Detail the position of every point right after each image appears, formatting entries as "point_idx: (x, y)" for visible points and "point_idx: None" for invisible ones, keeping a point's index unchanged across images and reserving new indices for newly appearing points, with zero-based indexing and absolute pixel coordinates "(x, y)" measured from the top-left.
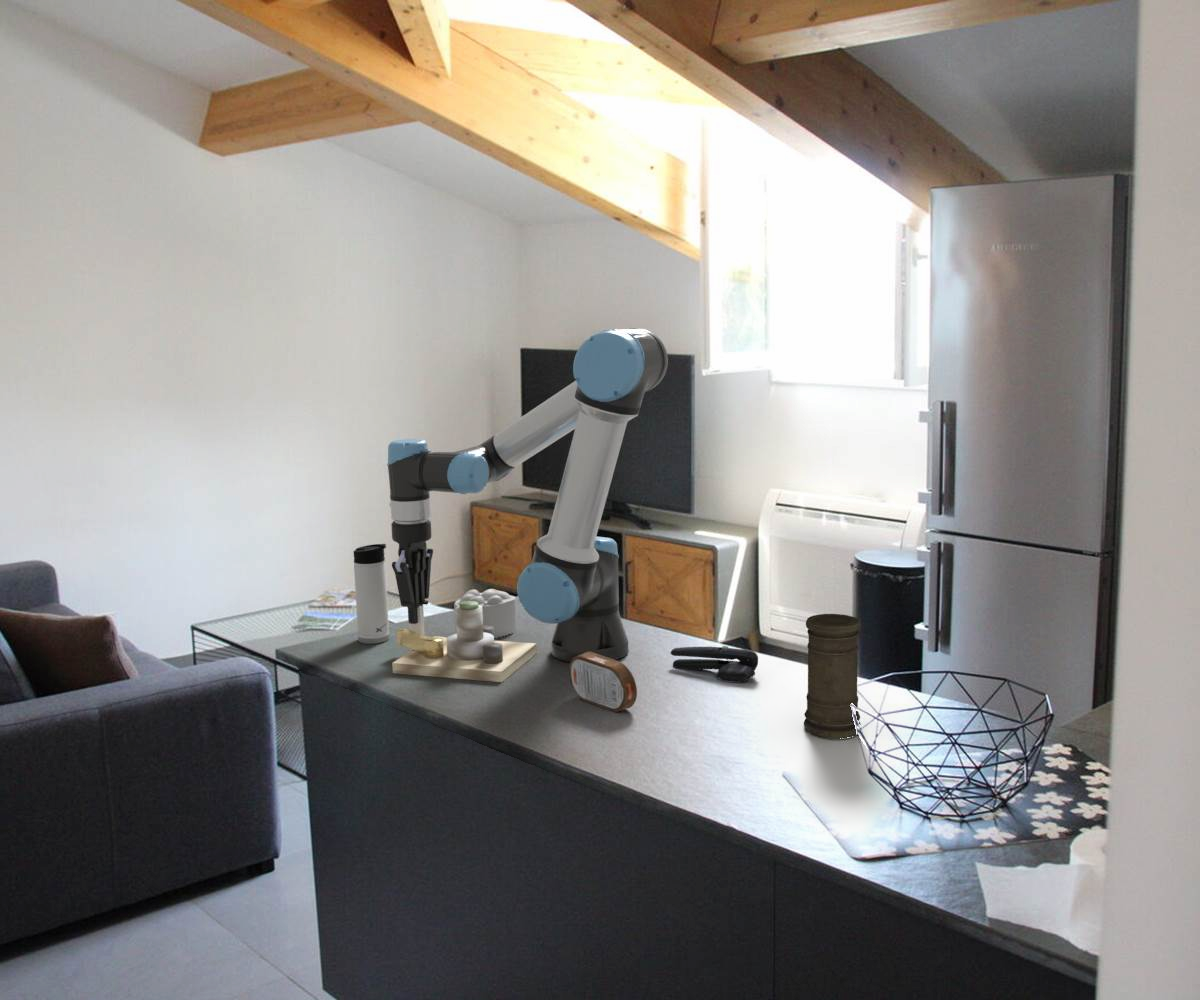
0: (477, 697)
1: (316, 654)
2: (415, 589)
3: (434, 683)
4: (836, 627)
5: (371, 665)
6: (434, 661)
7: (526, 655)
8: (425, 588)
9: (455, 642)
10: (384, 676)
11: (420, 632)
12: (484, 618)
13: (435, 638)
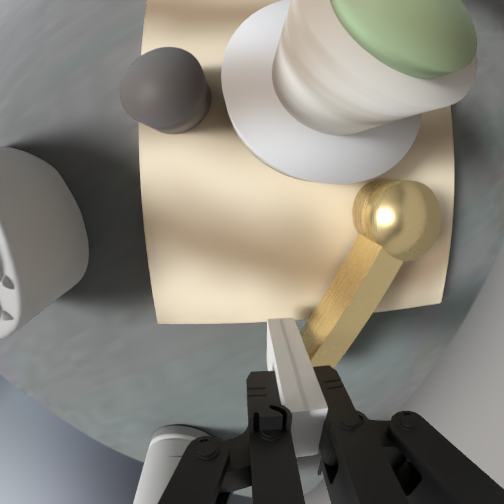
0: (489, 47)
1: (309, 472)
2: (405, 496)
3: (468, 153)
4: None
5: (373, 370)
6: None
7: None
8: (214, 497)
9: (403, 121)
10: (443, 297)
11: (298, 334)
12: (22, 189)
13: (395, 221)
